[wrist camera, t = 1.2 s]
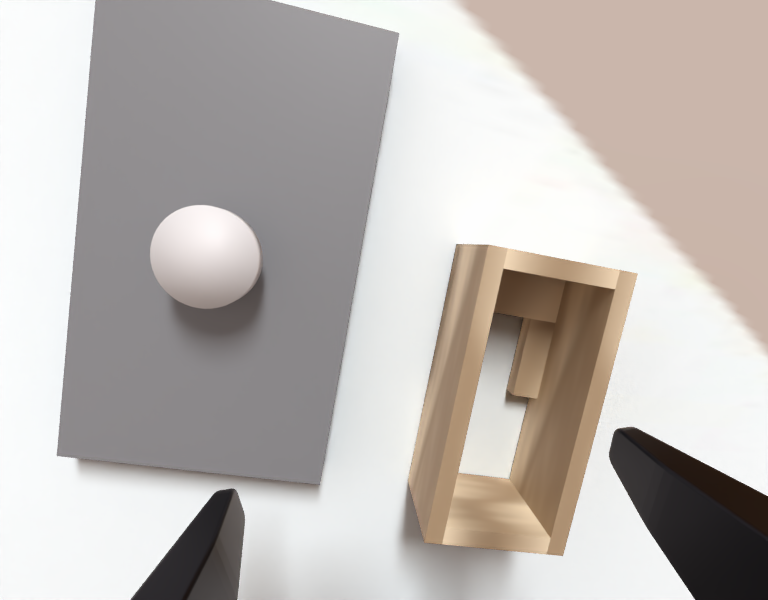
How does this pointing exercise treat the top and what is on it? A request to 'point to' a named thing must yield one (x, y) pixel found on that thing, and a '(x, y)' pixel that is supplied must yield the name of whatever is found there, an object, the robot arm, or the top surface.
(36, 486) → the top surface
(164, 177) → the grey plate with ball
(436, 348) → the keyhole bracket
